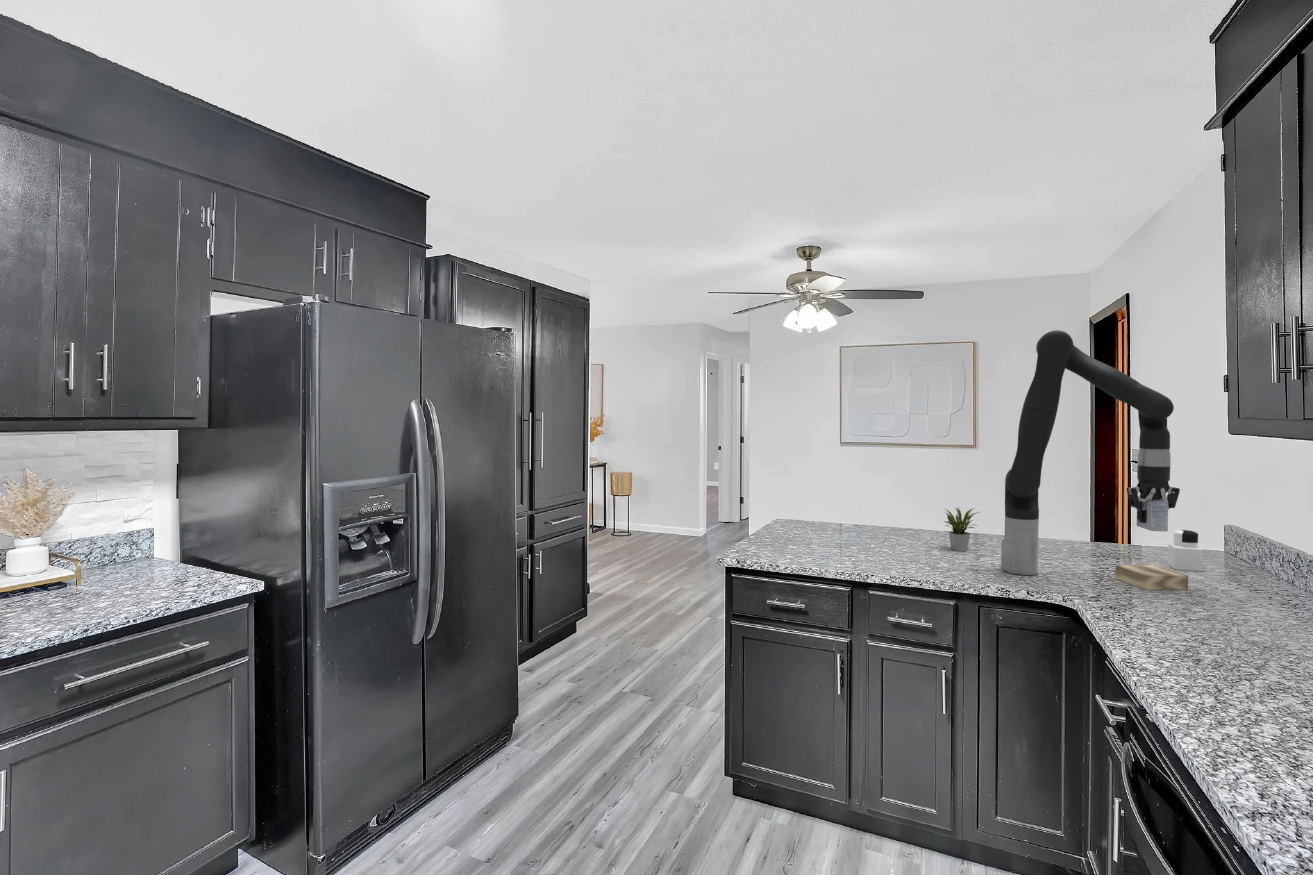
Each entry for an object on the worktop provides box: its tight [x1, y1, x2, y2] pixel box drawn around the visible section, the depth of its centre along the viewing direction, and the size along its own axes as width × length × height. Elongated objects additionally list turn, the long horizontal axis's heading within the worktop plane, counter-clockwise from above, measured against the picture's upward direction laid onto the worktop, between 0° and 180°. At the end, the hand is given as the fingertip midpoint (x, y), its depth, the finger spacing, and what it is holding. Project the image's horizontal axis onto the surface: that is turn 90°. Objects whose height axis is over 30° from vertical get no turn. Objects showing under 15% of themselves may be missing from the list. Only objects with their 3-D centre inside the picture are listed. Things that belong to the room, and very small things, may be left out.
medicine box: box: [1136, 498, 1169, 533], centre depth 187 cm, size 8×4×9 cm, turn 169°
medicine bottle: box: [1167, 529, 1204, 572], centre depth 205 cm, size 7×7×12 cm
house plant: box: [943, 506, 980, 552], centre depth 233 cm, size 14×14×16 cm
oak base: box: [1115, 564, 1189, 591], centre depth 188 cm, size 12×12×4 cm
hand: (1152, 522), depth 187 cm, fingers closed on medicine box, 5 cm apart
